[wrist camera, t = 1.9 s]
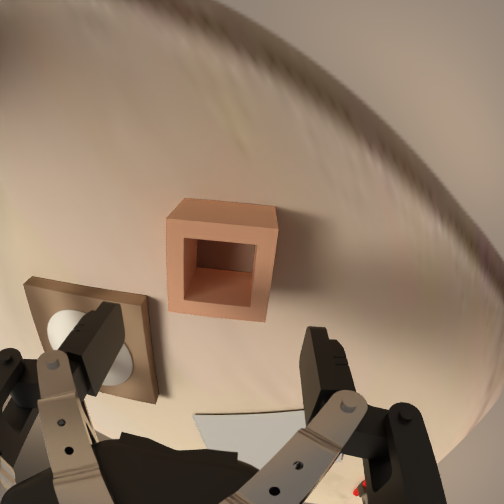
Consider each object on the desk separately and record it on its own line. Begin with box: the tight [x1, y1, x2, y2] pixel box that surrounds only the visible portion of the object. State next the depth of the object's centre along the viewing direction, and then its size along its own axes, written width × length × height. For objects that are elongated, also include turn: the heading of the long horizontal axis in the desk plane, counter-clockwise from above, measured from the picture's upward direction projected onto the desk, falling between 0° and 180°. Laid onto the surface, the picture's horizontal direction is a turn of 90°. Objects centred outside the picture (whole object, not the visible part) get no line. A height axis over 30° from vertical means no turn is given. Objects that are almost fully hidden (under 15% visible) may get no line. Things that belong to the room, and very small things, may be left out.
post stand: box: [23, 276, 159, 404], centre depth 22 cm, size 12×12×8 cm
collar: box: [166, 198, 279, 322], centre depth 20 cm, size 6×6×4 cm
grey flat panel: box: [192, 410, 342, 470], centre depth 29 cm, size 23×25×1 cm
